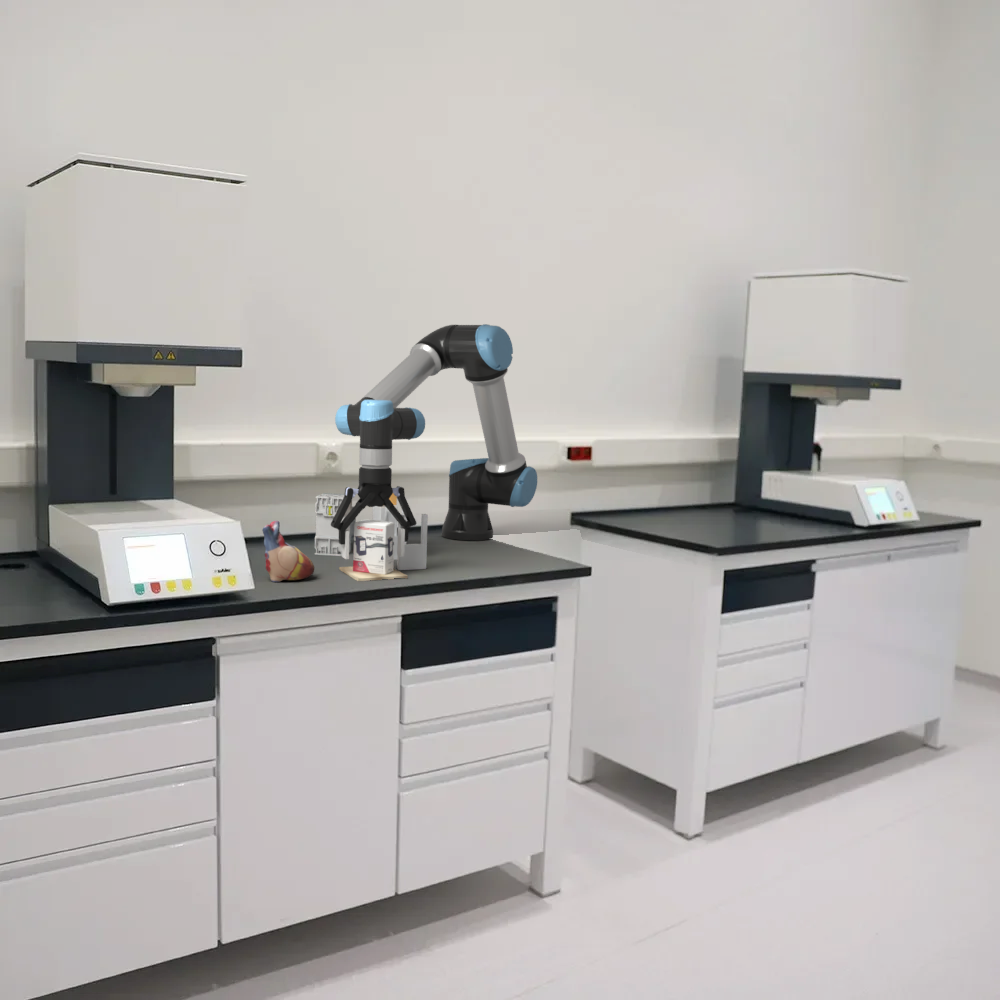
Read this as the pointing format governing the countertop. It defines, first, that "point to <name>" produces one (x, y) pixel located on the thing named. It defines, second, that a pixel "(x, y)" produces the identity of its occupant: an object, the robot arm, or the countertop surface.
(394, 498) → the bar
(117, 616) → the countertop surface
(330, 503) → the circuit breaker
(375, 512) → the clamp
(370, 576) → the birch pad
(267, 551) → the anatomical model
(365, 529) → the ink box
